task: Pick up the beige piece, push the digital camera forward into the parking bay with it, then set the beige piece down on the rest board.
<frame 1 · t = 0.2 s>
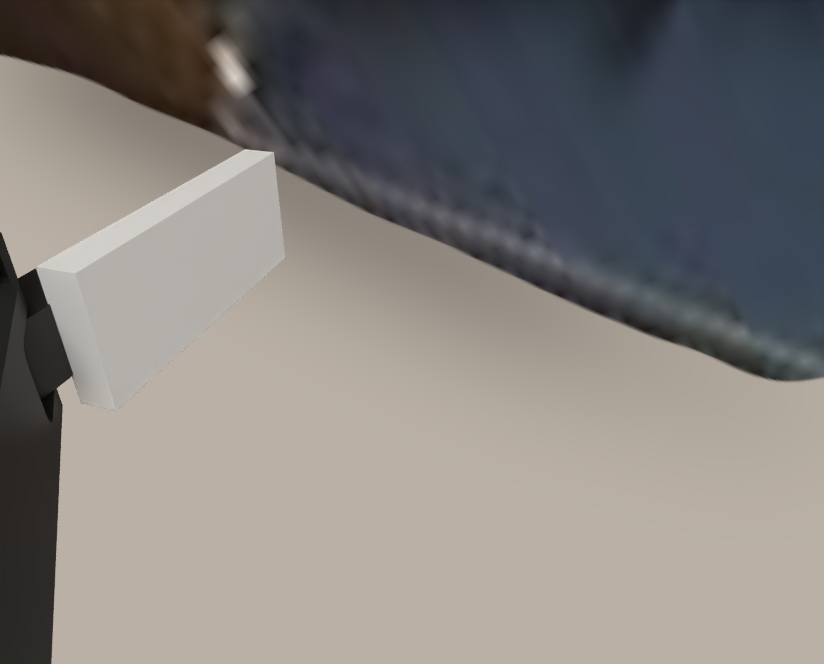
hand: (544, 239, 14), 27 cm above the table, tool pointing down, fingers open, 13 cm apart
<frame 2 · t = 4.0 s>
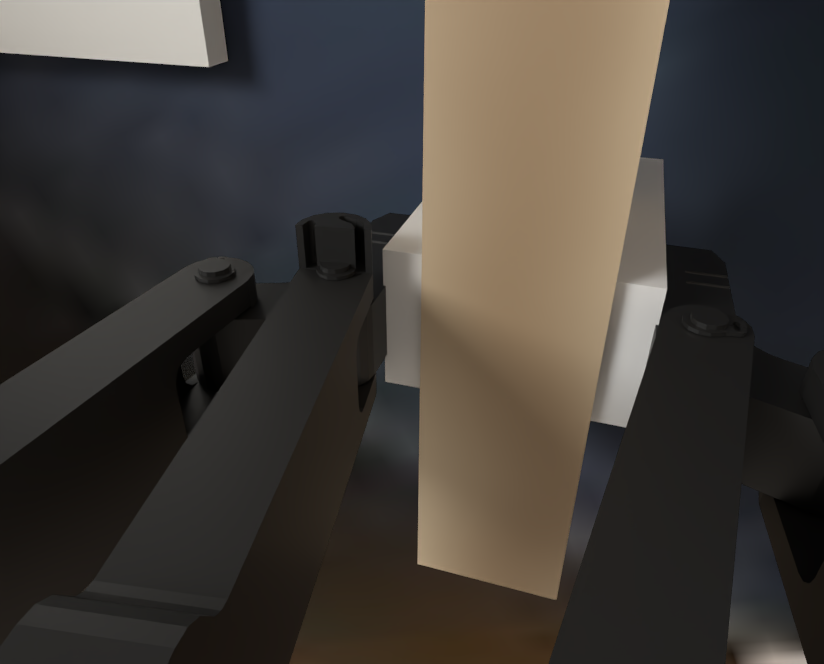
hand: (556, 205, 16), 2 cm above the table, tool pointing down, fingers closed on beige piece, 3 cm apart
beige piece: (568, 118, 15), point 2 cm above the table, touching gripper
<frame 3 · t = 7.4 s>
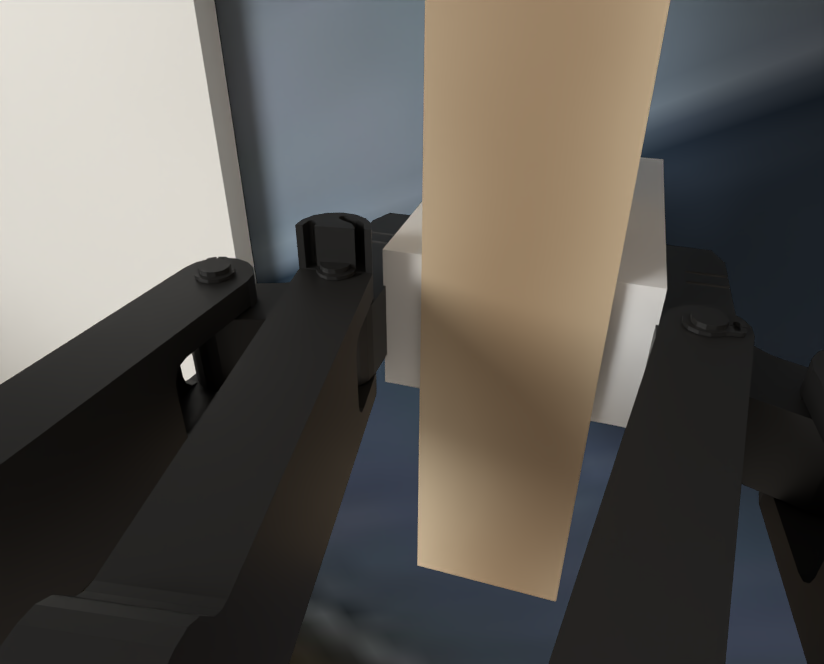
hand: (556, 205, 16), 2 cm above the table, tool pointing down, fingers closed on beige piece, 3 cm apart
rest board: (47, 187, 24), on the table
beige piece: (568, 120, 15), point 2 cm above the table, touching digital camera, gripper
when the fingers open (2 cm above the table, at t = 15.3 s): beige piece stays where it is, resting on rest board.
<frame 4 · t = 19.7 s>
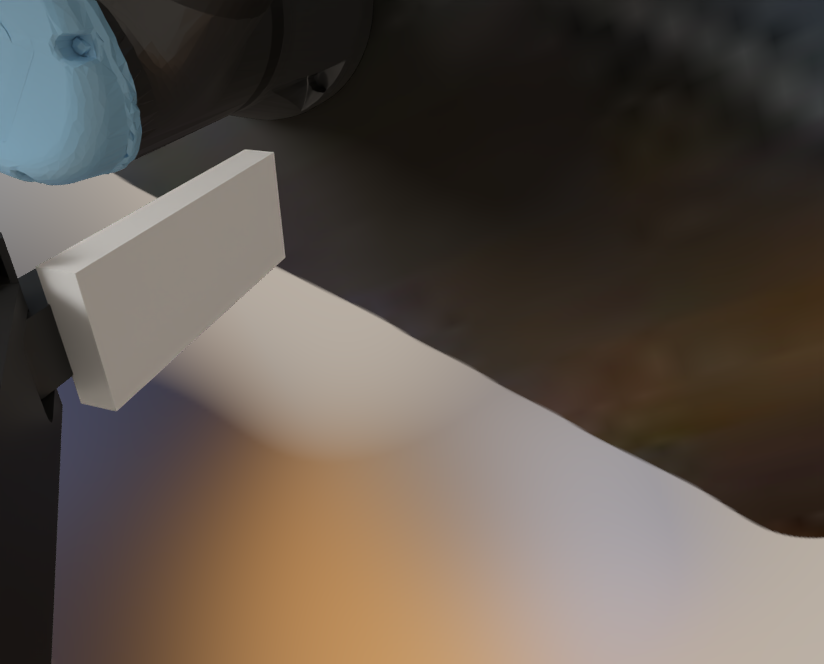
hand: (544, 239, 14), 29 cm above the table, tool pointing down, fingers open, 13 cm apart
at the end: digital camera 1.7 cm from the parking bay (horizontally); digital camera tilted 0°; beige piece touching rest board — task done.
